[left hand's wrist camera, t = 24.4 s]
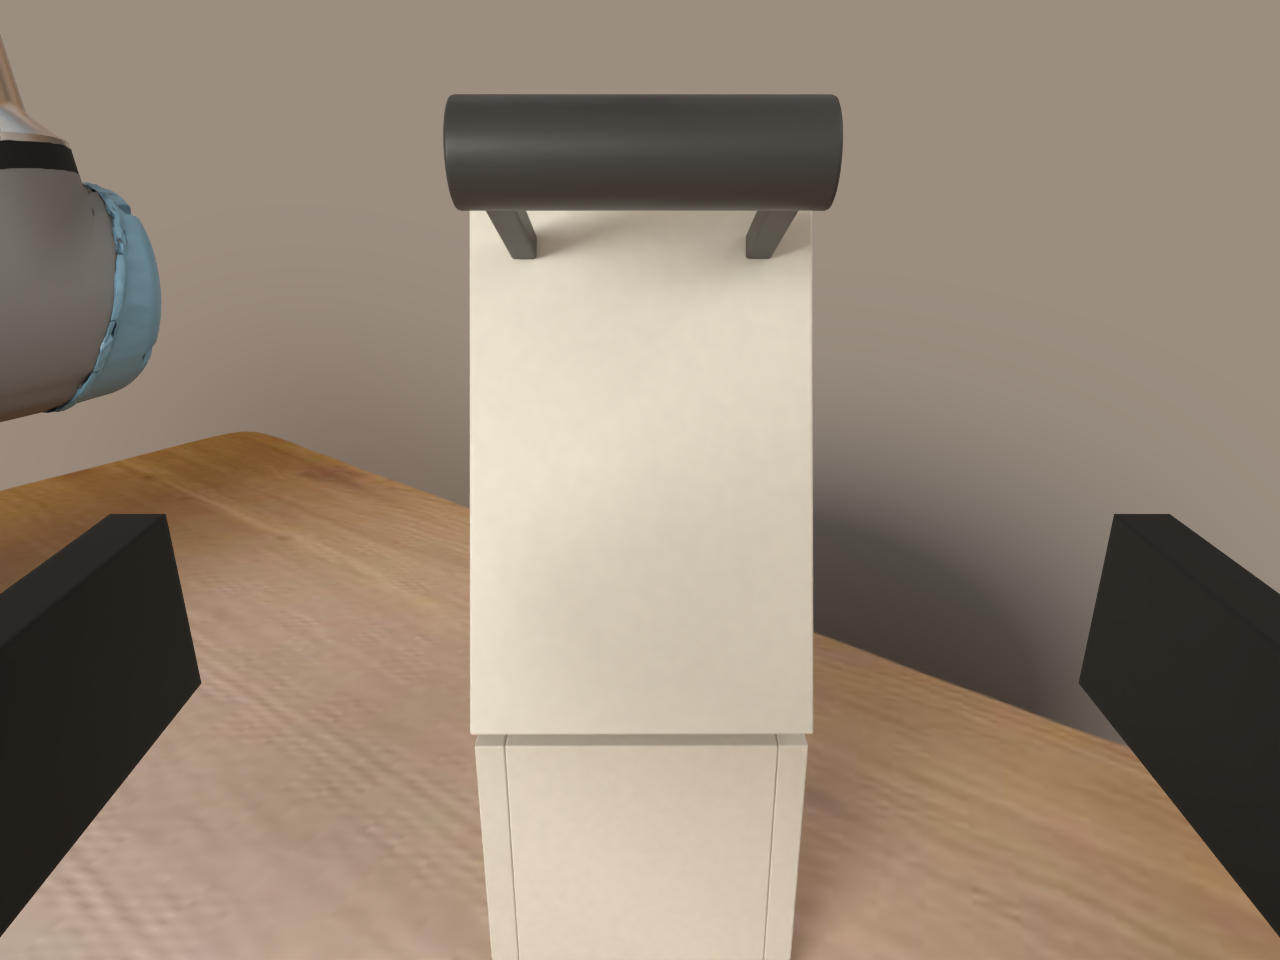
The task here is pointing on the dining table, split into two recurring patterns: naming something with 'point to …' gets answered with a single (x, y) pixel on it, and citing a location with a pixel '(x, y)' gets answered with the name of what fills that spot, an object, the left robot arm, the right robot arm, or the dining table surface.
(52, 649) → the left robot arm
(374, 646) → the dining table surface
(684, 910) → the chest
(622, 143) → the lid
